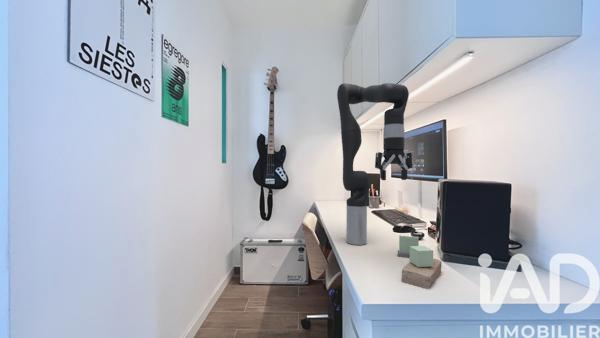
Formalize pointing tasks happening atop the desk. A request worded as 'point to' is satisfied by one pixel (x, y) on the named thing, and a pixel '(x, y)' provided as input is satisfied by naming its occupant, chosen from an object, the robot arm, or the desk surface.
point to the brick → (421, 274)
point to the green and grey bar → (406, 245)
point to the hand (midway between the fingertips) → (393, 180)
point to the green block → (421, 256)
